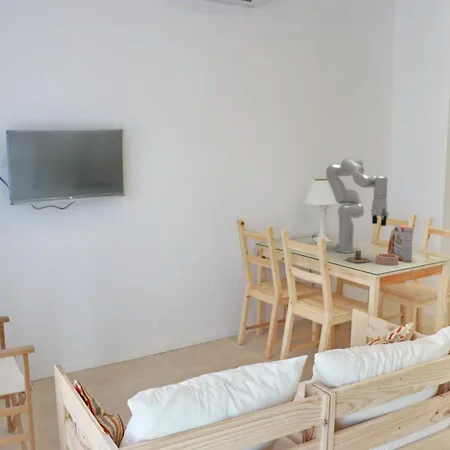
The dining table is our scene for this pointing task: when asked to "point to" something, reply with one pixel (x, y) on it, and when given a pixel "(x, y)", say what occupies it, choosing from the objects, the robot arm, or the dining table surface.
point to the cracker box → (403, 242)
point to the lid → (358, 258)
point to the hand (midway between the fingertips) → (378, 224)
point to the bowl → (387, 259)
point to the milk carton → (391, 242)
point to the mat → (358, 263)
